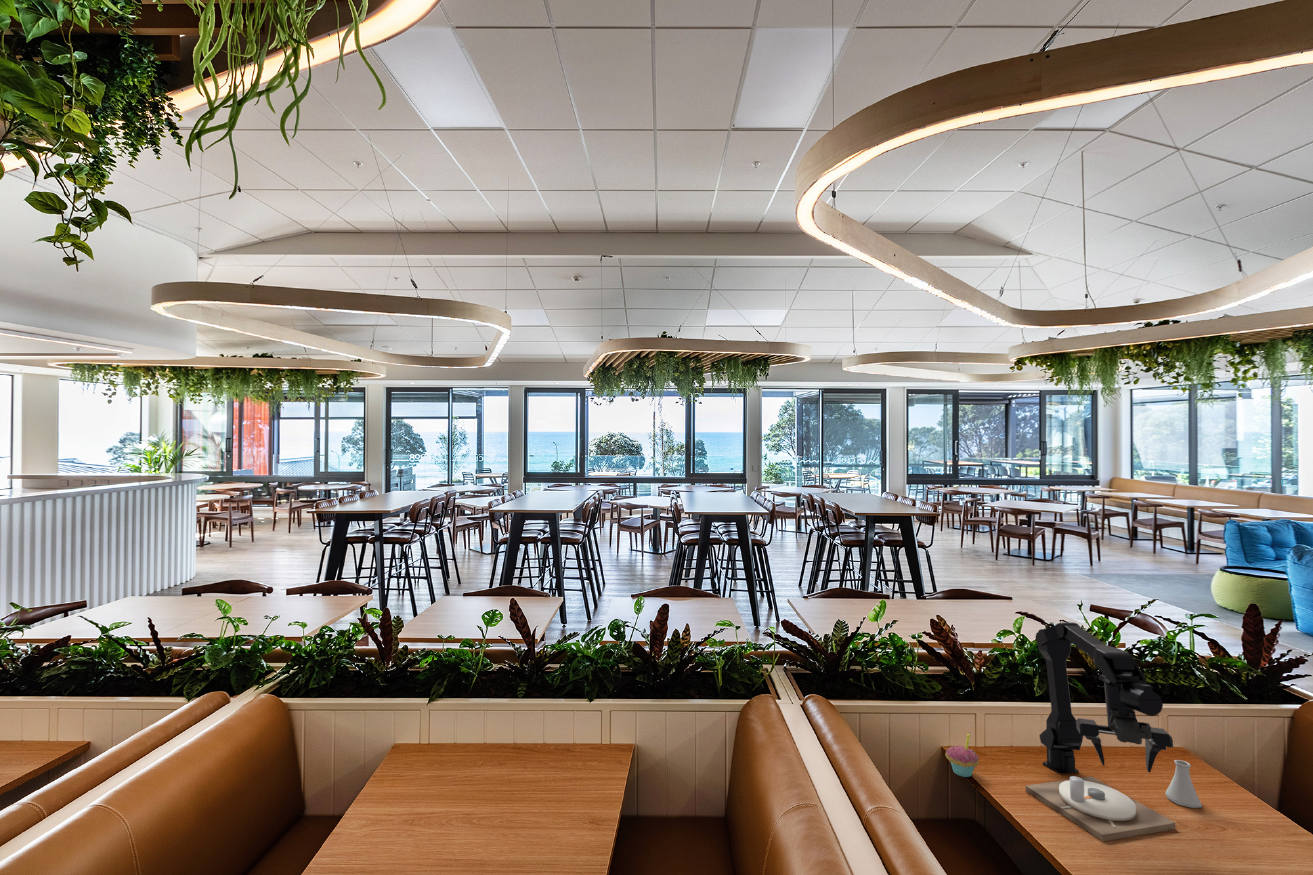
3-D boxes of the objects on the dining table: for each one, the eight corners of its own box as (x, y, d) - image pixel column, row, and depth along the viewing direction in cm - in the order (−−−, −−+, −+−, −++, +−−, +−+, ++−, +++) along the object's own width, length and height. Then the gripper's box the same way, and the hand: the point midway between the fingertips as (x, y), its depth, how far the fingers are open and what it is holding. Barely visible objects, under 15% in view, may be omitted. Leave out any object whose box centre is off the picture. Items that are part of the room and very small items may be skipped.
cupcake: (976, 768, 175) (975, 726, 175) (981, 783, 167) (981, 739, 167) (943, 763, 178) (943, 722, 178) (947, 777, 170) (947, 734, 170)
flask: (1209, 810, 154) (1207, 771, 154) (1176, 807, 156) (1175, 768, 156) (1190, 795, 161) (1189, 757, 162) (1159, 792, 163) (1158, 754, 163)
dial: (1092, 782, 164) (1092, 758, 164) (1152, 816, 149) (1152, 789, 149) (1044, 789, 161) (1043, 764, 161) (1100, 824, 145) (1100, 797, 145)
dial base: (1025, 791, 163) (1025, 784, 163) (1091, 781, 168) (1091, 775, 168) (1102, 841, 141) (1102, 834, 141) (1175, 828, 146) (1175, 821, 146)
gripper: (1081, 706, 149) (1087, 773, 147) (1177, 717, 141) (1184, 788, 139) (1073, 694, 159) (1078, 757, 157) (1162, 704, 151) (1168, 770, 149)
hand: (1125, 768), depth 150 cm, fingers open, 9 cm apart
